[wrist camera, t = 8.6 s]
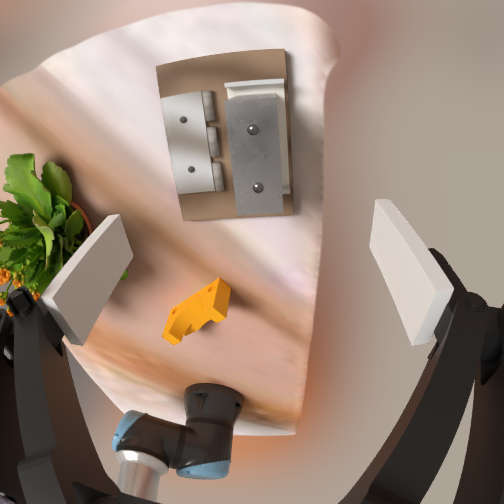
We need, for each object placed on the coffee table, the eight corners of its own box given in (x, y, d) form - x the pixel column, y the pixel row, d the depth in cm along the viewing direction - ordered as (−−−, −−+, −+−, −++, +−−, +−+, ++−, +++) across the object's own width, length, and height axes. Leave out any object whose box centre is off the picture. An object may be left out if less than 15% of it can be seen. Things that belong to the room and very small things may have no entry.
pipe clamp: (189, 322, 50) (181, 350, 44) (171, 308, 48) (161, 336, 43) (238, 293, 45) (234, 324, 40) (219, 276, 43) (212, 307, 38)
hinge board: (292, 210, 36) (293, 218, 34) (185, 216, 37) (181, 224, 36) (283, 49, 25) (284, 47, 23) (159, 66, 26) (152, 66, 24)
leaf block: (280, 178, 32) (283, 213, 25) (245, 180, 33) (237, 216, 25) (274, 92, 27) (276, 97, 19) (236, 95, 27) (223, 101, 19)
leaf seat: (289, 188, 33) (290, 193, 32) (238, 191, 34) (237, 196, 32) (283, 78, 26) (283, 78, 24) (226, 83, 26) (224, 83, 25)
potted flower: (161, 210, 37) (104, 301, 23) (117, 306, 49) (81, 383, 34) (32, 134, 30) (-53, 182, 16) (19, 242, 42) (-32, 301, 28)
